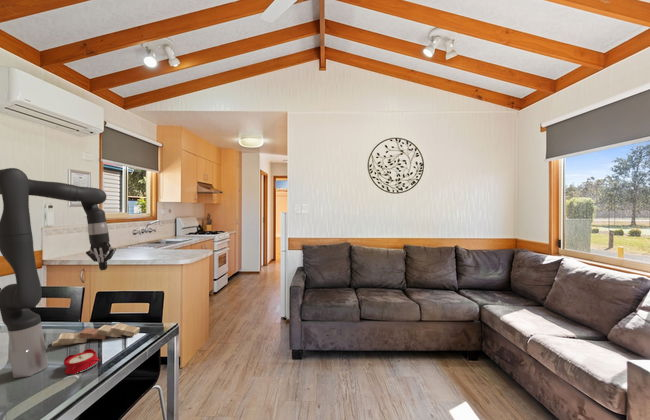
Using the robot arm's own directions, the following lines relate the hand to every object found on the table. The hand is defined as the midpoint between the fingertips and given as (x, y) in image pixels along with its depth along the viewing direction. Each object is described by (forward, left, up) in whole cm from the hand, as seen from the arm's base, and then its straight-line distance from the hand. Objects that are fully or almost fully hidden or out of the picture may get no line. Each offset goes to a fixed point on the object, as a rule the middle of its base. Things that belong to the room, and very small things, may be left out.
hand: (103, 269), depth 152 cm
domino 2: (-8, +6, -28) cm, 30 cm away
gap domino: (-6, -1, -28) cm, 29 cm away
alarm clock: (-31, -6, -30) cm, 43 cm away
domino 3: (-6, -9, -28) cm, 30 cm away
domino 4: (-7, -15, -28) cm, 33 cm away
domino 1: (-7, +10, -29) cm, 31 cm away
